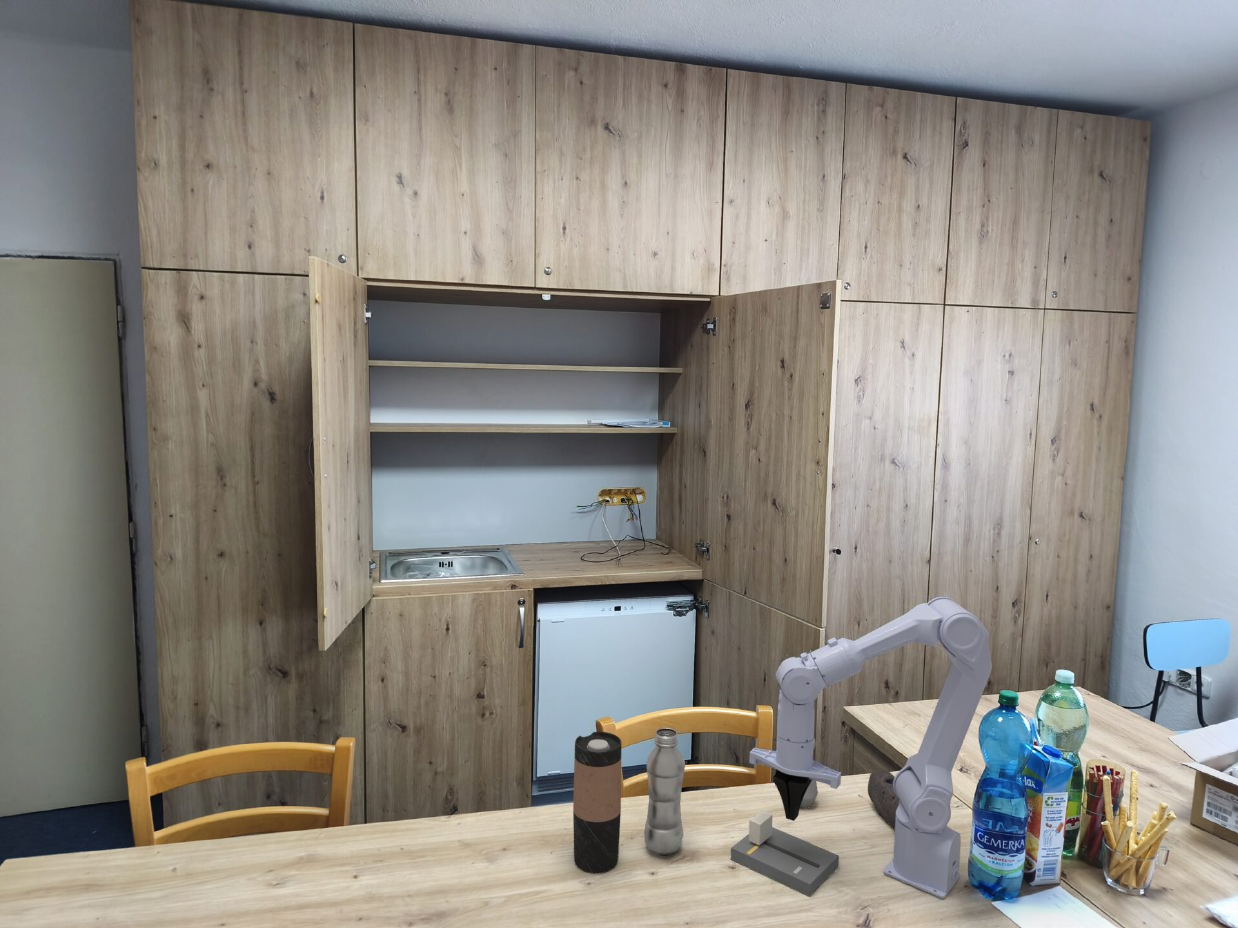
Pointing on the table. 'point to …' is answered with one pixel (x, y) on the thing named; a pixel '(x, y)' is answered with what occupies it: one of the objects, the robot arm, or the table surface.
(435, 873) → the table surface
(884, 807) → the perforated stone tool
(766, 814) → the fader tab
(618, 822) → the travel mug
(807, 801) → the salt shaker
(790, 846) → the console board
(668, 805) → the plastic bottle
